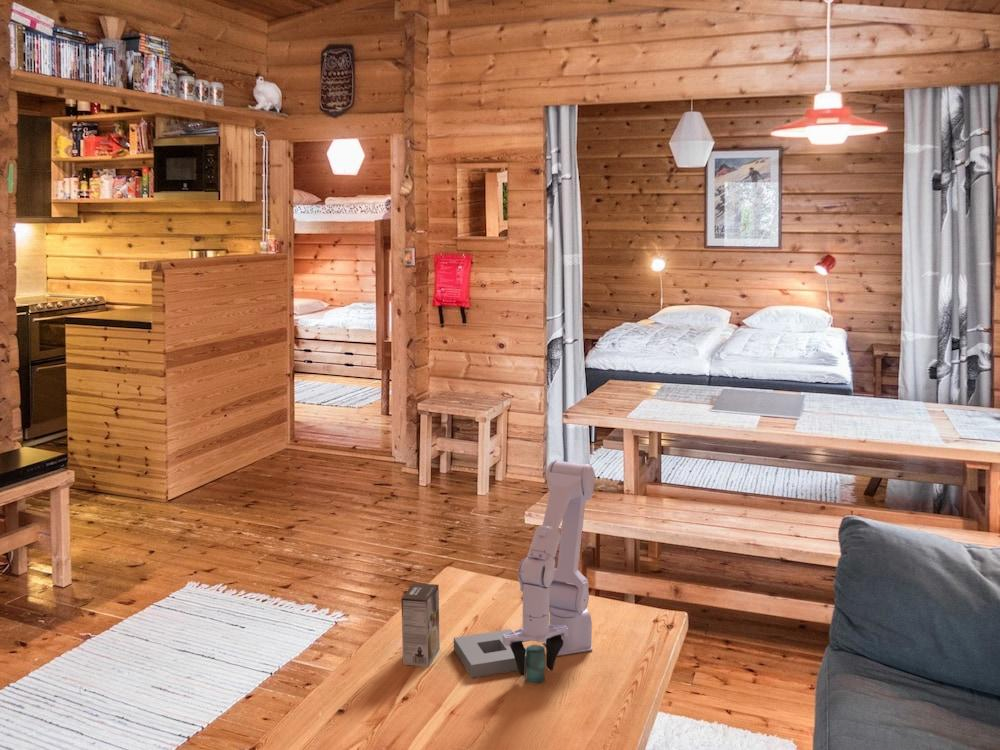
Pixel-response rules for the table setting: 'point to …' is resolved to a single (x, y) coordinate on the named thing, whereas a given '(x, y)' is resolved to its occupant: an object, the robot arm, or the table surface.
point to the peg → (535, 664)
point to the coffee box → (420, 624)
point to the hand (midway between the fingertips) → (535, 670)
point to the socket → (485, 653)
